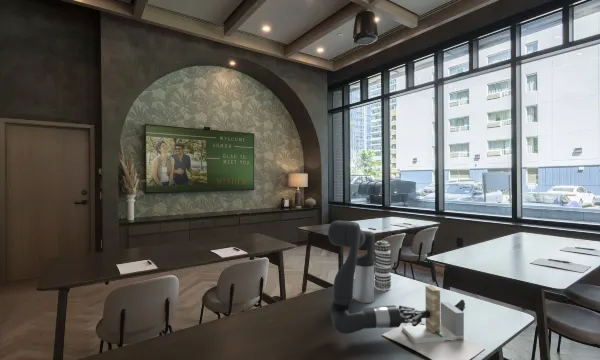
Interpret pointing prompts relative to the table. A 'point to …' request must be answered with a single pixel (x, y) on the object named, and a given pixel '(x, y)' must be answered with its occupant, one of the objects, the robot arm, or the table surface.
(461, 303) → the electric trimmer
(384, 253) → the decorative candle
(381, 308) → the robot arm
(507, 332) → the table surface
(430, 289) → the tan rectangular box
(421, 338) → the base
